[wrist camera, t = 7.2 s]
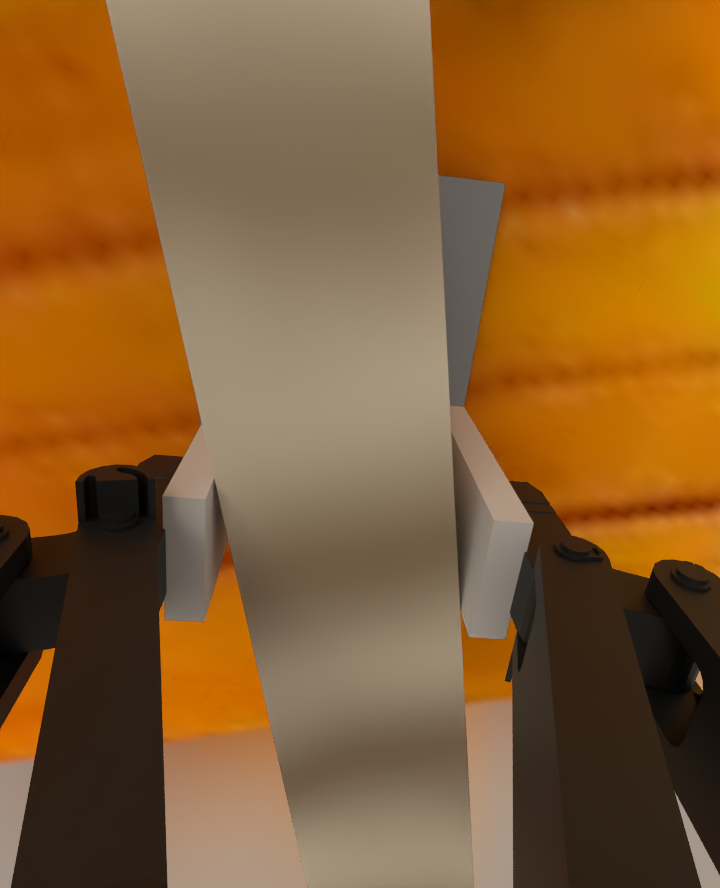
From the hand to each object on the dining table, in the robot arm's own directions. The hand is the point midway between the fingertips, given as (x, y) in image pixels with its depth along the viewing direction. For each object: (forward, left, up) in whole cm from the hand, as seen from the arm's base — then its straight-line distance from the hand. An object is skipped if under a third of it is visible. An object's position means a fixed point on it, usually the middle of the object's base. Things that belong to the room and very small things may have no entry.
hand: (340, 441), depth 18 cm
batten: (0, 0, +1) cm, 1 cm away
